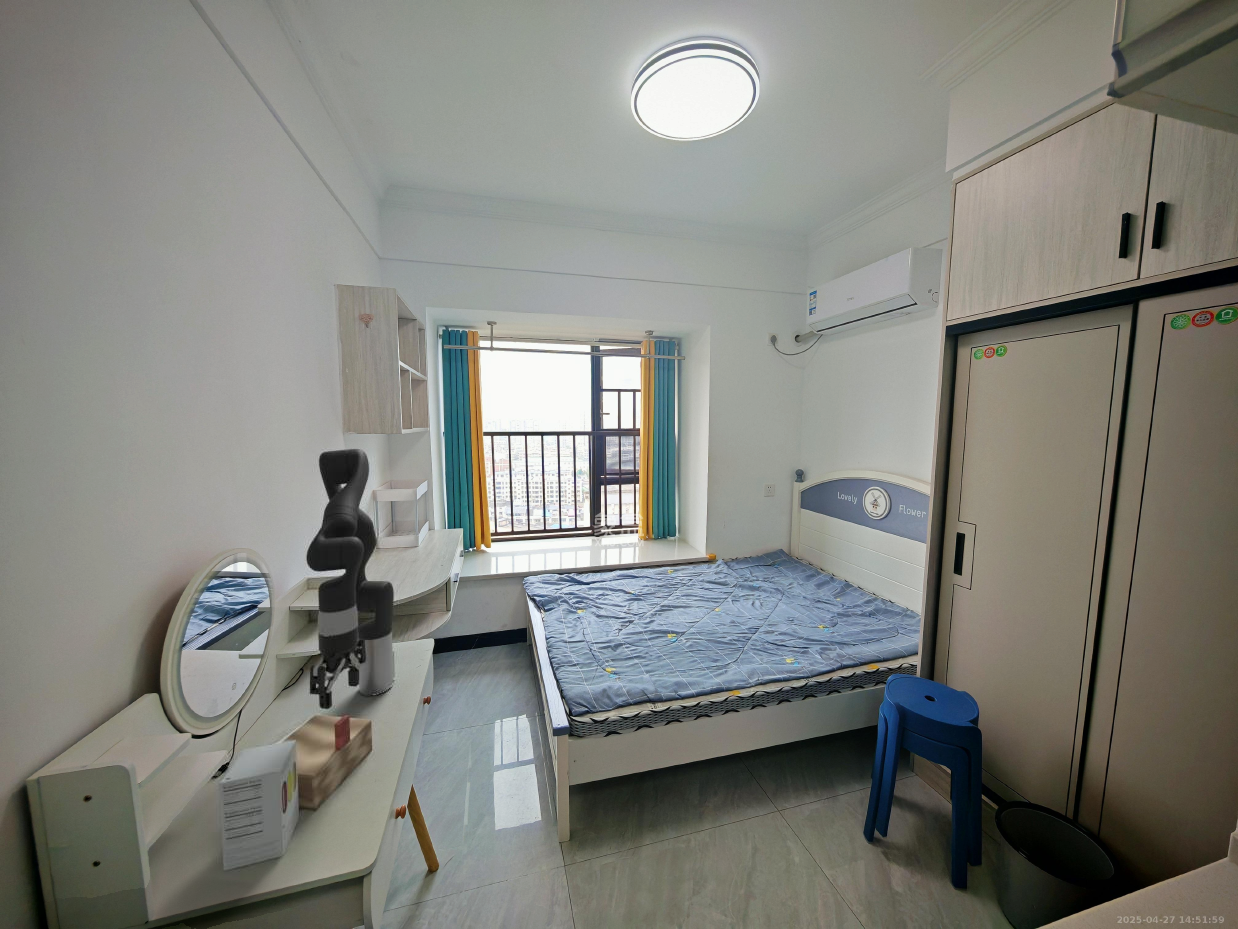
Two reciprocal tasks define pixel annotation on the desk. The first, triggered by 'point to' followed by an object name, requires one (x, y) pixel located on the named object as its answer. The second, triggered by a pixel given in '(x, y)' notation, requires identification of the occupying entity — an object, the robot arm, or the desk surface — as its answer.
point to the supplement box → (259, 804)
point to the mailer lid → (324, 741)
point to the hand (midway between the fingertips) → (340, 696)
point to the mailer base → (334, 773)
